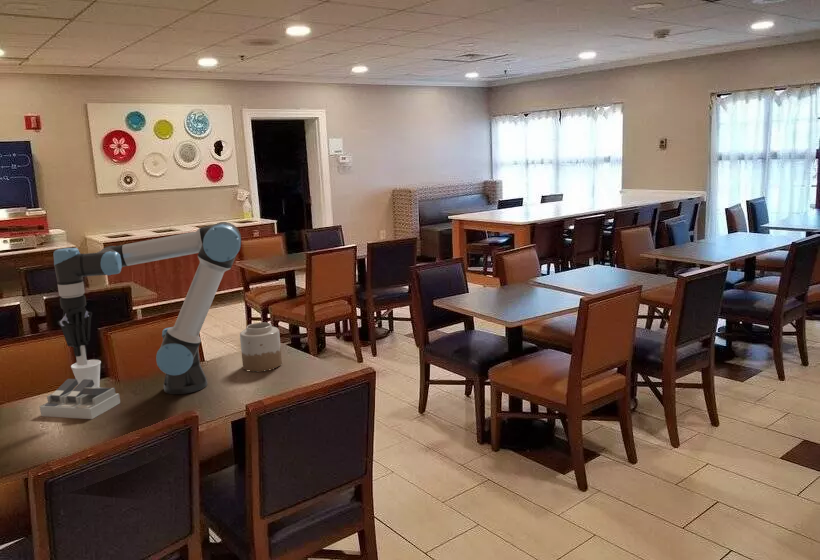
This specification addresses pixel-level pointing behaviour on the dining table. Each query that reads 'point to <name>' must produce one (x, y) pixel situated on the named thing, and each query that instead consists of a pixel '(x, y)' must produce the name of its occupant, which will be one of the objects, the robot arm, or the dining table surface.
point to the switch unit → (80, 405)
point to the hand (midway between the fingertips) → (82, 364)
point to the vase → (260, 347)
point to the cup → (88, 372)
